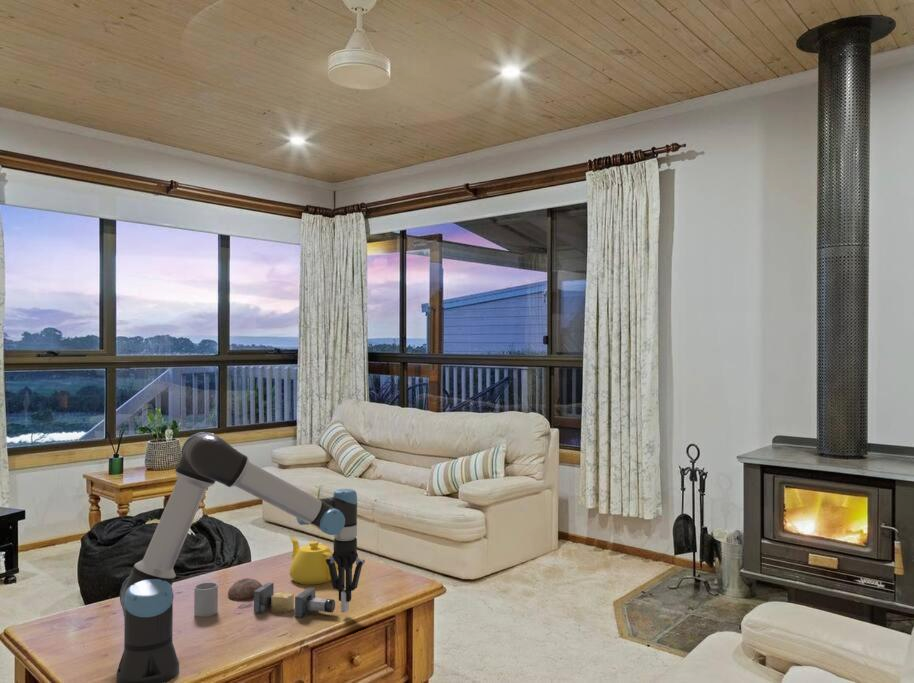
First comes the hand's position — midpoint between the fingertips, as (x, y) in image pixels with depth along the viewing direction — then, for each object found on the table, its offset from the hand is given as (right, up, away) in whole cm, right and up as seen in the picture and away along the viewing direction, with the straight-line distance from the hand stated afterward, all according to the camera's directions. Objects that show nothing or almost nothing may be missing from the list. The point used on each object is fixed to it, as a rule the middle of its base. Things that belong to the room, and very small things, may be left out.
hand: (344, 611), depth 222 cm
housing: (-21, -2, +6) cm, 22 cm away
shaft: (-10, -1, +3) cm, 10 cm away
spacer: (-22, -2, +6) cm, 23 cm away
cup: (-47, -2, +4) cm, 47 cm away
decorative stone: (-38, -3, +21) cm, 44 cm away
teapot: (-19, -3, +39) cm, 44 cm away
